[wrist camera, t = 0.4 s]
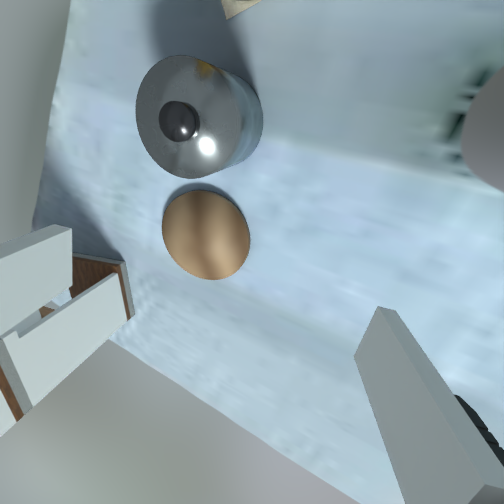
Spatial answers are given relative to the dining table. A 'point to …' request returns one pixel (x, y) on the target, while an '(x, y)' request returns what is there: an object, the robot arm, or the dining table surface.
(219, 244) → the tan plate
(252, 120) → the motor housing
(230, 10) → the condiment
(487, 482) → the robot arm
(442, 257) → the dining table surface
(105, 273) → the display case
